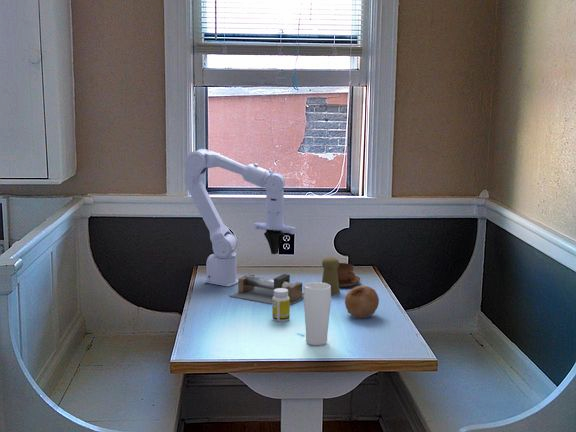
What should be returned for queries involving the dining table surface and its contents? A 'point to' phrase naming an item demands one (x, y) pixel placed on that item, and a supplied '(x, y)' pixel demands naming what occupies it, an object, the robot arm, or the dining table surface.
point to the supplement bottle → (280, 305)
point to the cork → (331, 274)
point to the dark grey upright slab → (281, 280)
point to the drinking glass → (317, 312)
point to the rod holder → (269, 286)
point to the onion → (361, 301)
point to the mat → (260, 295)
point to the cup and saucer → (346, 275)
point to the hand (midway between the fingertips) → (274, 253)
